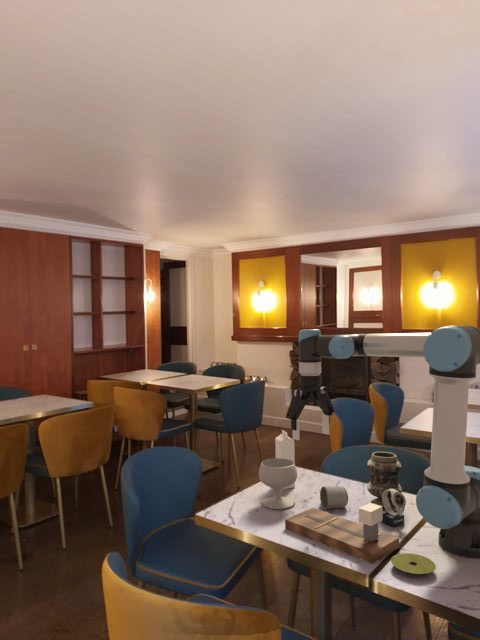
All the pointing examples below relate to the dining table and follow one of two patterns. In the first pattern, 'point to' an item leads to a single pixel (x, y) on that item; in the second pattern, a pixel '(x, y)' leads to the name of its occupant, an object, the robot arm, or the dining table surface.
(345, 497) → the ceramic mug
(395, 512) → the watch
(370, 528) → the fader knob
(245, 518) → the dining table surface
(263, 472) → the chalice
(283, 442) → the milk
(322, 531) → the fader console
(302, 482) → the dining table surface
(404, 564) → the mat
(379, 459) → the apothecary jar
